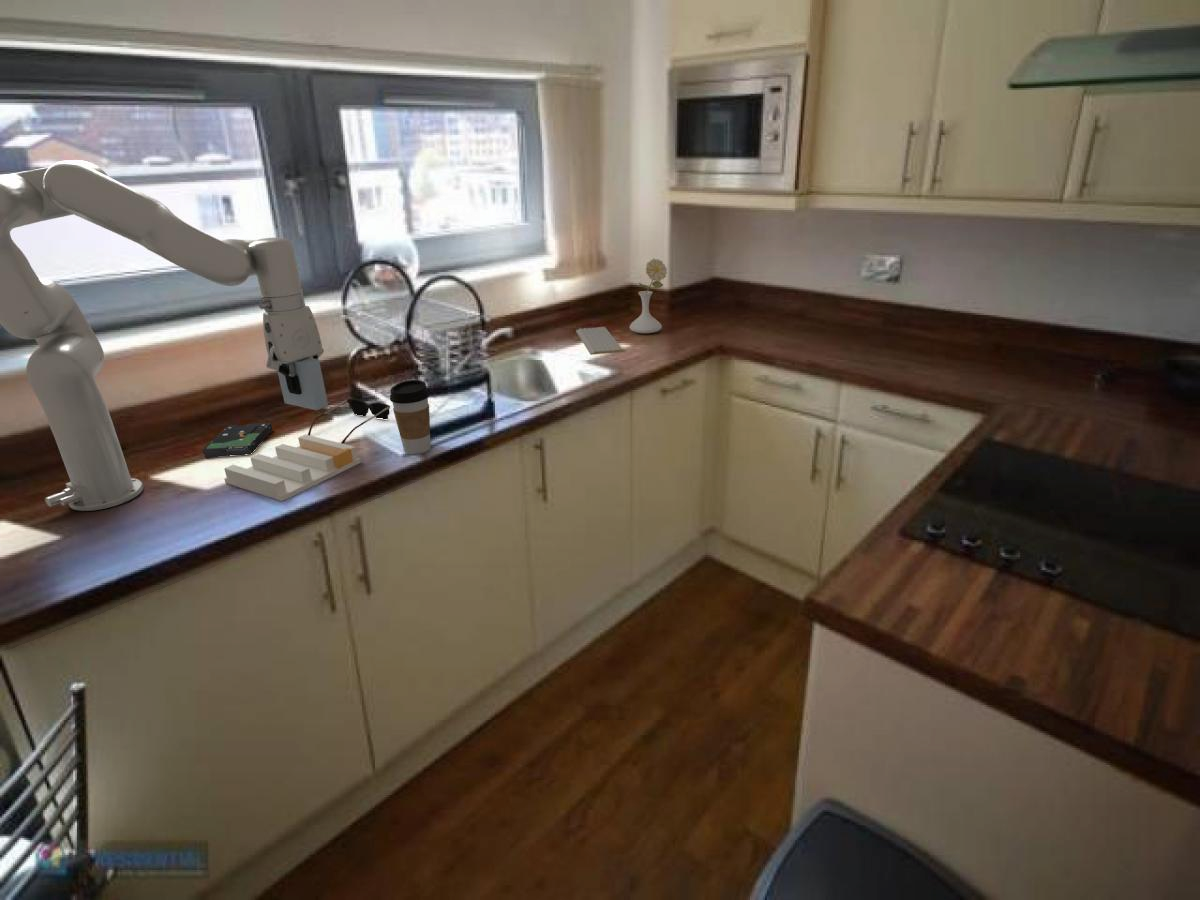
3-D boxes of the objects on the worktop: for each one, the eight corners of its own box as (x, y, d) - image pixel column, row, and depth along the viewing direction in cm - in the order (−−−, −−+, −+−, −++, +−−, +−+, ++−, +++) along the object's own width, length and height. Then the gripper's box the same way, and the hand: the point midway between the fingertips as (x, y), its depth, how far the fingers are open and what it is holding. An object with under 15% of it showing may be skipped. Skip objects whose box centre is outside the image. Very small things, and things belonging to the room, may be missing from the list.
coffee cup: (443, 443, 161) (435, 380, 155) (424, 458, 154) (414, 393, 148) (411, 440, 164) (401, 378, 158) (390, 454, 157) (380, 390, 150)
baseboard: (585, 356, 224) (622, 353, 226) (585, 347, 223) (622, 345, 225) (571, 333, 252) (604, 330, 254) (571, 325, 251) (604, 322, 253)
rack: (282, 501, 137) (277, 482, 136) (225, 482, 146) (220, 465, 144) (361, 462, 153) (358, 445, 152) (305, 447, 162) (302, 431, 160)
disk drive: (230, 435, 172) (204, 459, 158) (227, 424, 171) (201, 448, 157) (273, 432, 173) (252, 456, 159) (271, 421, 172) (249, 445, 158)
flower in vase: (631, 336, 242) (630, 262, 232) (627, 328, 253) (626, 257, 243) (669, 334, 243) (669, 260, 233) (663, 326, 254) (664, 255, 244)
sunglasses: (393, 422, 176) (389, 404, 174) (347, 450, 163) (342, 431, 161) (351, 415, 181) (347, 397, 179) (303, 441, 169) (298, 422, 166)
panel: (316, 410, 145) (306, 363, 141) (284, 403, 150) (274, 357, 146) (328, 405, 148) (318, 359, 144) (296, 398, 152) (286, 353, 148)
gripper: (260, 313, 132) (281, 405, 139) (330, 296, 145) (346, 381, 152) (235, 310, 136) (257, 400, 143) (305, 293, 148) (322, 377, 156)
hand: (302, 390), depth 148 cm, fingers closed on panel, 3 cm apart
